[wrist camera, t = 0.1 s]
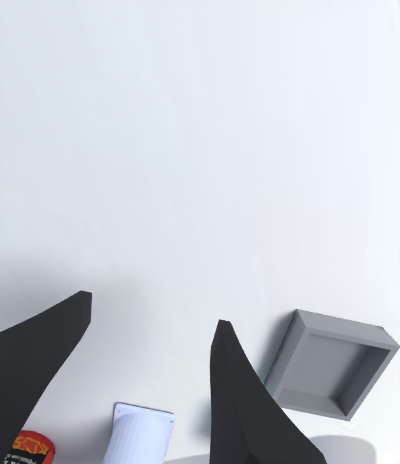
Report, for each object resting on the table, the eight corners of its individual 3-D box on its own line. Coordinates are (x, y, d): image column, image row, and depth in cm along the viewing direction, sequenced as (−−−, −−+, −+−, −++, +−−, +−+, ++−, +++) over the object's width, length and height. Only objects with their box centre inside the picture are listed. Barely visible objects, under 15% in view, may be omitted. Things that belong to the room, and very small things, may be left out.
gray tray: (382, 327, 24) (400, 346, 22) (337, 398, 28) (349, 421, 26) (296, 309, 24) (306, 326, 22) (264, 383, 28) (269, 404, 25)
